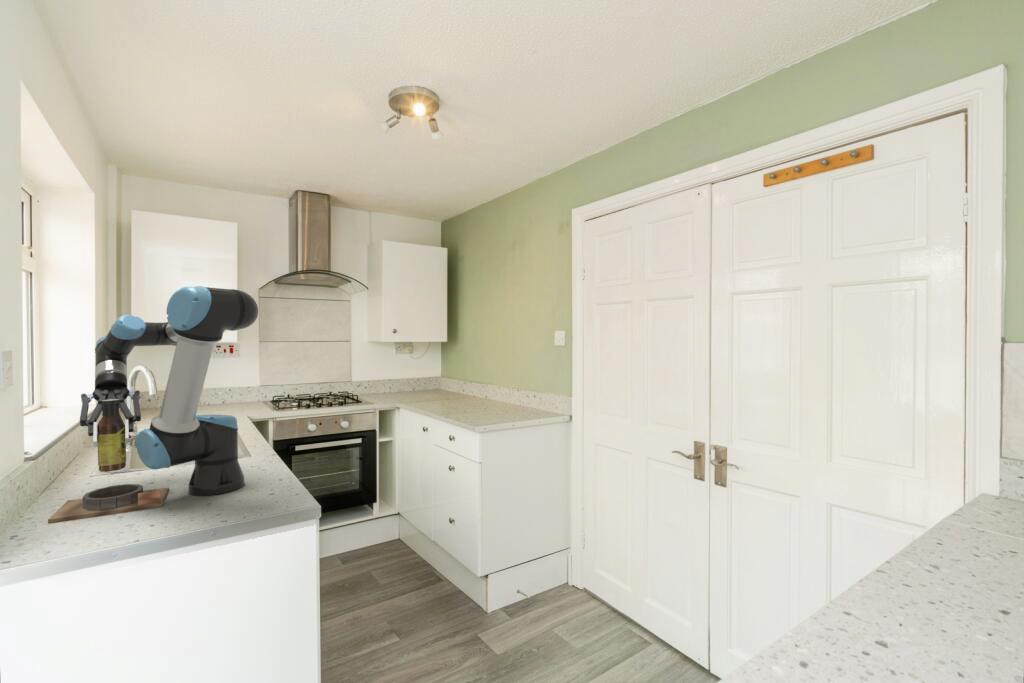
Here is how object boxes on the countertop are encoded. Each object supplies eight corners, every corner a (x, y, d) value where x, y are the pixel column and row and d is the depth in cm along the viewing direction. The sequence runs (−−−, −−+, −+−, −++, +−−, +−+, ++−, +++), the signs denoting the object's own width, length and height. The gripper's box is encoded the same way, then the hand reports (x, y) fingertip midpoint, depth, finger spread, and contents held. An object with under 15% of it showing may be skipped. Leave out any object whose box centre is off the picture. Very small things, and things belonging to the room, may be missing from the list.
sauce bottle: (128, 469, 139) (127, 399, 139) (99, 474, 135) (98, 402, 134) (124, 464, 144) (122, 397, 143) (96, 469, 139) (95, 399, 139)
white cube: (101, 472, 171) (101, 452, 171) (121, 467, 178) (121, 448, 178) (117, 474, 169) (116, 453, 169) (136, 468, 176) (136, 449, 176)
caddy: (169, 490, 152) (169, 477, 152) (161, 507, 138) (161, 492, 138) (67, 503, 140) (67, 490, 140) (48, 523, 126) (47, 507, 126)
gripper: (150, 384, 156) (153, 445, 144) (69, 389, 145) (66, 455, 132) (150, 369, 152) (154, 430, 140) (67, 372, 140) (63, 439, 128)
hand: (111, 442), depth 136 cm, fingers closed on sauce bottle, 6 cm apart
